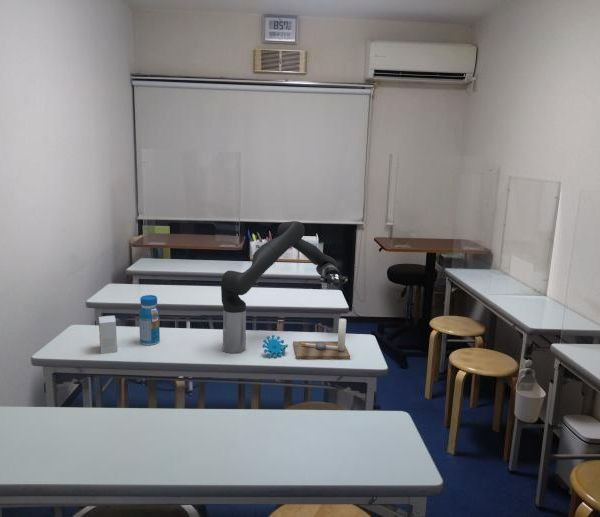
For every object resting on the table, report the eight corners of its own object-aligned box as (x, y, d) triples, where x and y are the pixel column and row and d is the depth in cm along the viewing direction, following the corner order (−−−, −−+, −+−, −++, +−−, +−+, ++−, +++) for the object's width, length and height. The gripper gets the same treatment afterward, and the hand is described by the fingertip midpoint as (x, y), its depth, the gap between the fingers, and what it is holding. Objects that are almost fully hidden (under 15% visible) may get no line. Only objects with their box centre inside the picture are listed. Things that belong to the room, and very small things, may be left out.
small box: (99, 346, 210) (98, 316, 208) (116, 344, 213) (114, 315, 210) (100, 353, 203) (99, 322, 201) (117, 352, 206) (116, 321, 203)
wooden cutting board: (296, 359, 205) (296, 355, 205) (292, 344, 220) (293, 341, 220) (350, 359, 207) (350, 355, 207) (343, 344, 223) (343, 341, 222)
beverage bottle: (138, 346, 212) (137, 300, 208) (140, 339, 220) (138, 294, 216) (159, 345, 214) (158, 299, 210) (160, 338, 222) (159, 293, 218)
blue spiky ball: (264, 356, 203) (262, 333, 208) (259, 362, 207) (258, 339, 213) (290, 357, 207) (287, 334, 212) (285, 362, 211) (283, 340, 217)
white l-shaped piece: (300, 347, 213) (301, 317, 210) (302, 343, 217) (303, 314, 214) (344, 352, 209) (345, 321, 207) (345, 348, 214) (346, 318, 211)
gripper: (317, 266, 238) (322, 275, 221) (345, 267, 239) (352, 276, 223) (316, 281, 240) (321, 292, 223) (344, 282, 241) (351, 292, 224)
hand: (337, 284), depth 223 cm, fingers closed
